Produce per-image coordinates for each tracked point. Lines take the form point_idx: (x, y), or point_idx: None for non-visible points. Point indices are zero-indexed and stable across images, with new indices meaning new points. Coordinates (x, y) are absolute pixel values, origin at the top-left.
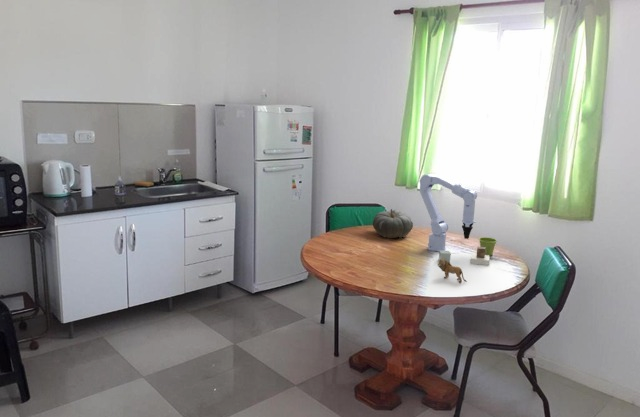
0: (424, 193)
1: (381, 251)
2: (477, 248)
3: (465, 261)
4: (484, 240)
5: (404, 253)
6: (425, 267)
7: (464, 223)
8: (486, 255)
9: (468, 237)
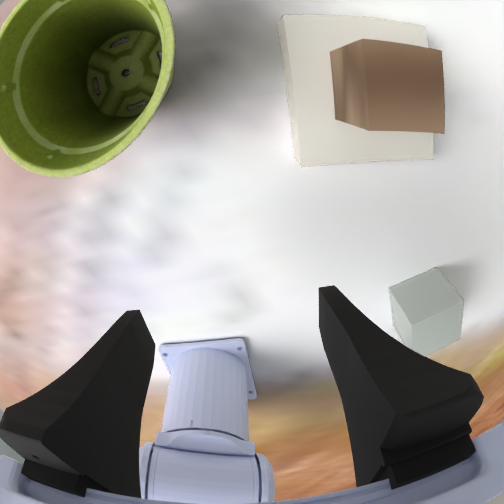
0: None
1: (342, 455)
2: (442, 130)
3: (395, 188)
4: (24, 126)
5: (344, 425)
6: (493, 325)
7: (131, 489)
8: (297, 38)
9: (342, 296)
